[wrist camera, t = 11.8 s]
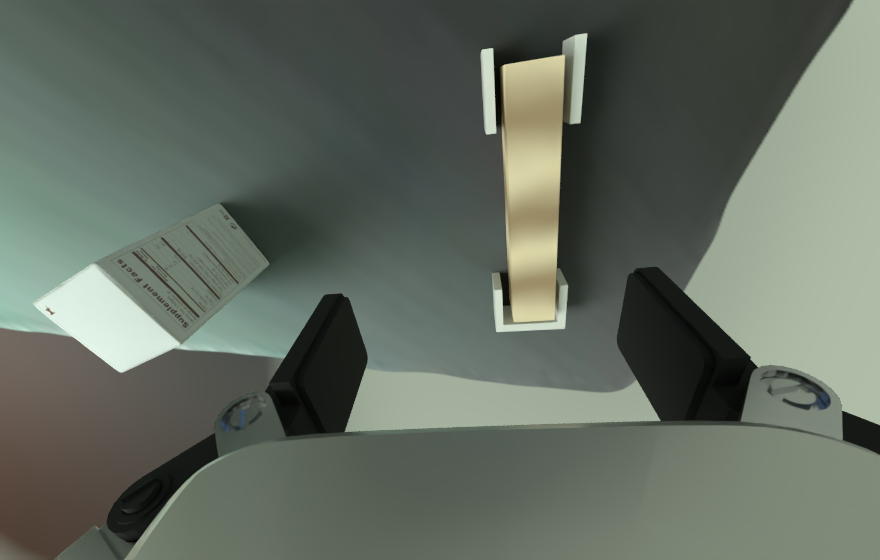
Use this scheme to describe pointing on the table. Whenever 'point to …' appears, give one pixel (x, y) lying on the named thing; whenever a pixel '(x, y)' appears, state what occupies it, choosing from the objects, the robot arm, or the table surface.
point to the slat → (532, 181)
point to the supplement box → (156, 289)
